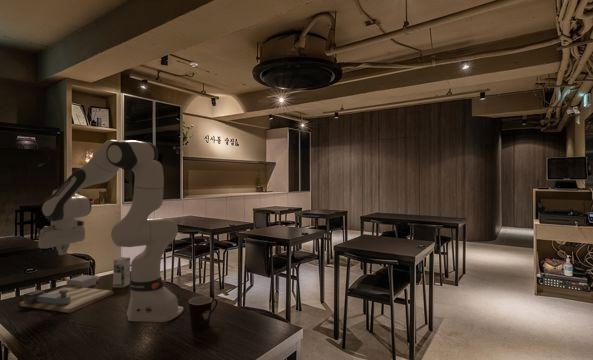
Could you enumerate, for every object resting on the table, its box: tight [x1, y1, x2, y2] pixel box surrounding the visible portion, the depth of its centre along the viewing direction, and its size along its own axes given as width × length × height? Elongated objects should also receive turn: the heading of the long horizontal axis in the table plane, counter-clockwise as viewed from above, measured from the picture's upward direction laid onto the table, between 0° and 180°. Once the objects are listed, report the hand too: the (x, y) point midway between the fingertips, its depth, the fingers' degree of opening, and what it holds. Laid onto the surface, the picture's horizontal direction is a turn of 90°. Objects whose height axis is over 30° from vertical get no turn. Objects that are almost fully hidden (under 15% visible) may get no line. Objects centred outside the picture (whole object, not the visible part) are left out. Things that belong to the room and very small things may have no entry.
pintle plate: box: [19, 285, 114, 314], centre depth 152 cm, size 27×24×7 cm
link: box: [36, 292, 71, 305], centre depth 145 cm, size 20×5×2 cm, turn 77°
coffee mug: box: [188, 295, 218, 332], centre depth 127 cm, size 12×9×10 cm
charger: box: [66, 274, 101, 288], centre depth 173 cm, size 5×9×15 cm
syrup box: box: [112, 256, 131, 289], centre depth 172 cm, size 6×6×14 cm
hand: (62, 254), depth 151 cm, fingers closed
